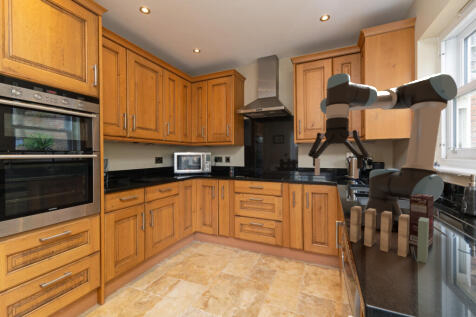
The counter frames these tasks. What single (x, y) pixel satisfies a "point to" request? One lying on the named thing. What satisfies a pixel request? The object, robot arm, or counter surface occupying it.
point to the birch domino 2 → (370, 227)
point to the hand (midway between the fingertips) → (335, 176)
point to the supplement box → (420, 208)
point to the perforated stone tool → (378, 219)
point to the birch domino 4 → (403, 235)
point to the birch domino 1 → (355, 224)
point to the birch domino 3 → (386, 231)
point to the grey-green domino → (423, 239)
